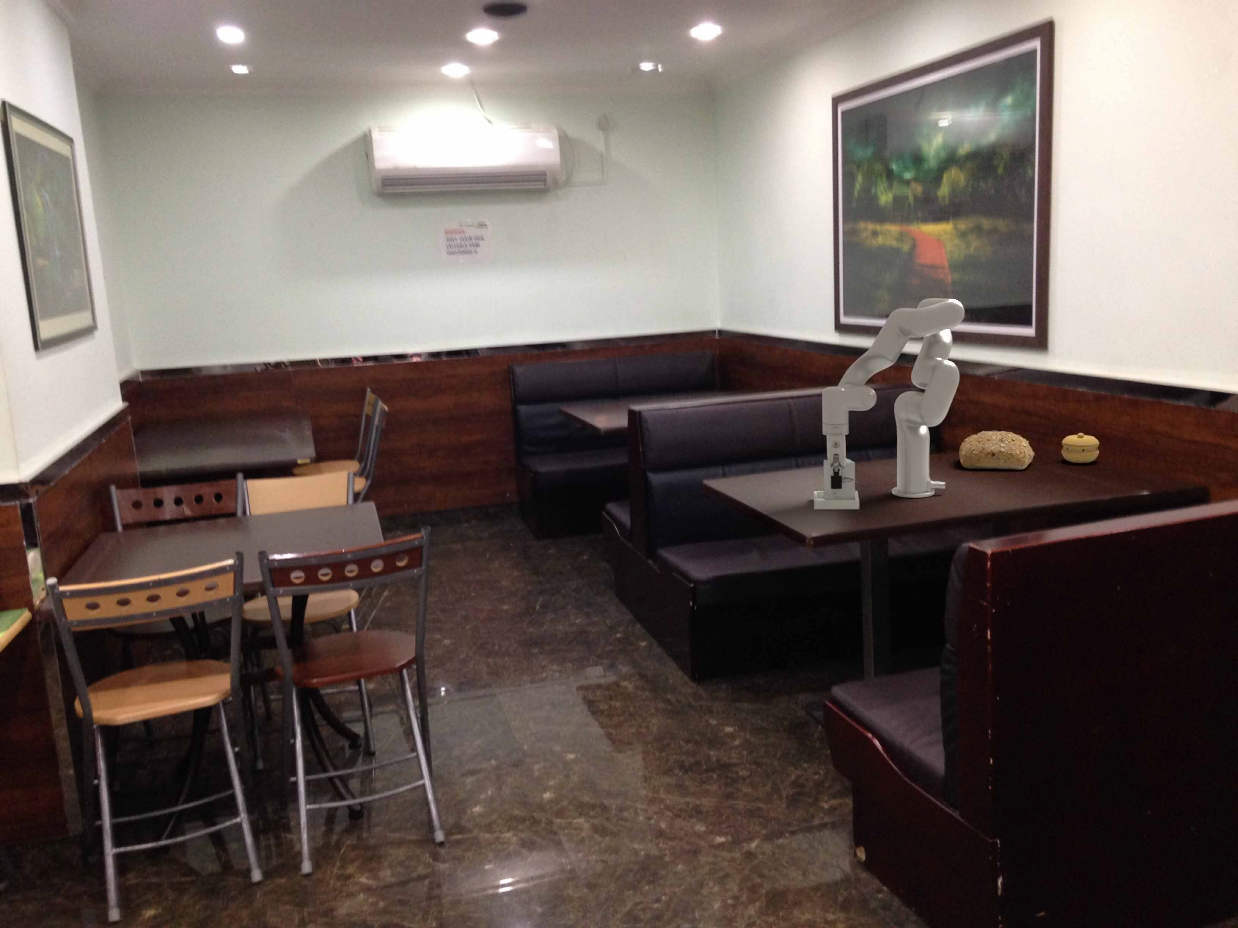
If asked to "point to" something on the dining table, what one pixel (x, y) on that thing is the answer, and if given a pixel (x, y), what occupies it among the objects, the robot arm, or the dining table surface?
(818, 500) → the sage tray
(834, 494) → the supplement box
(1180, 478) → the dining table surface
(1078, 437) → the pot
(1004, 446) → the bread
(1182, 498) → the dining table surface
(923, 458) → the robot arm
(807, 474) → the dining table surface
